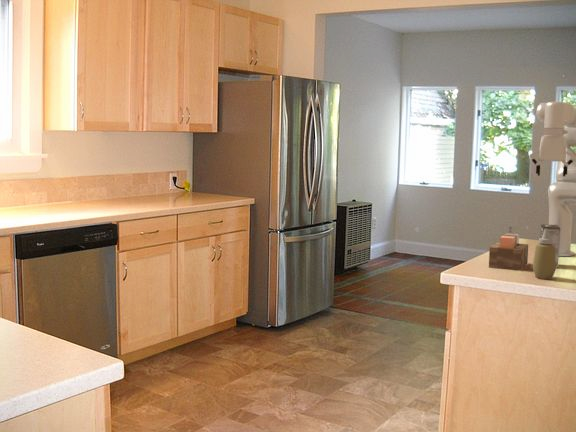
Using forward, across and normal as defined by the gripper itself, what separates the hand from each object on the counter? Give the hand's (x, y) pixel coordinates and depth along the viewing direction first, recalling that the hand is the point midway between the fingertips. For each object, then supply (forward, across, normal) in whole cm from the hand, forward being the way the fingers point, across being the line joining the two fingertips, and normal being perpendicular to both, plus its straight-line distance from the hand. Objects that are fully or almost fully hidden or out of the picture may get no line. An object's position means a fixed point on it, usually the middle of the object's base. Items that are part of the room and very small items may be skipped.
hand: (551, 175), depth 289 cm
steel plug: (+30, +14, +7) cm, 34 cm away
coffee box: (+36, -1, +5) cm, 36 cm away
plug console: (+36, +15, +11) cm, 40 cm away
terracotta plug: (+30, +16, +15) cm, 37 cm away
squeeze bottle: (+36, +2, +32) cm, 48 cm away
